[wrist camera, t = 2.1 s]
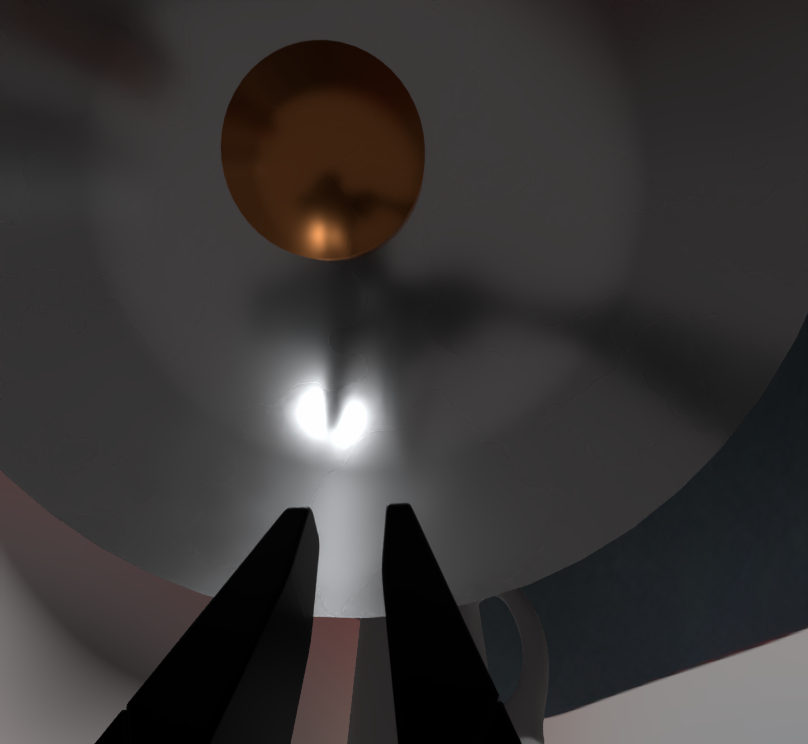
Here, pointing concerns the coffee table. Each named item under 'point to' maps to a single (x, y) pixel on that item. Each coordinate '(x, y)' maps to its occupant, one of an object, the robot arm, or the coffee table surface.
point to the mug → (373, 683)
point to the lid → (390, 270)
